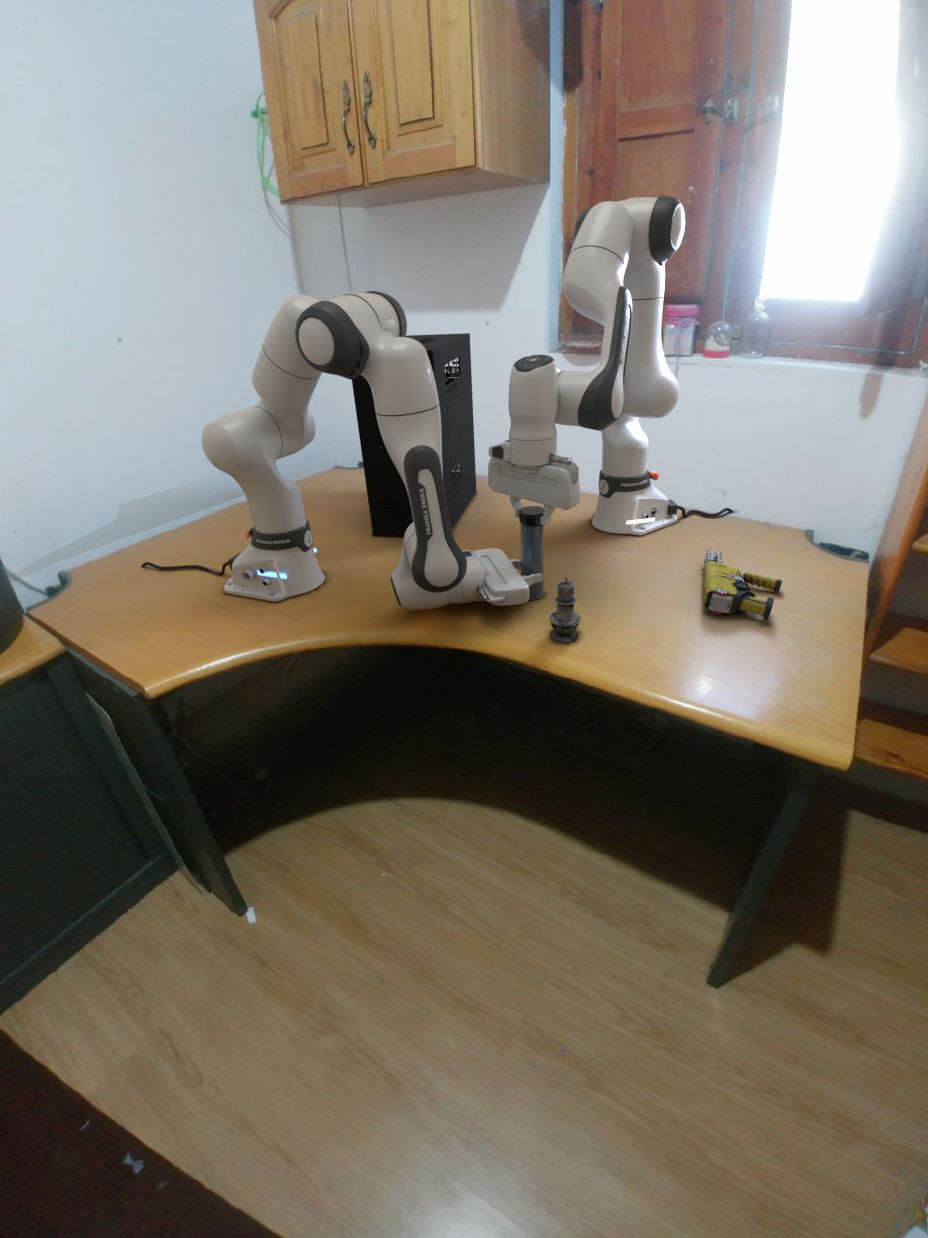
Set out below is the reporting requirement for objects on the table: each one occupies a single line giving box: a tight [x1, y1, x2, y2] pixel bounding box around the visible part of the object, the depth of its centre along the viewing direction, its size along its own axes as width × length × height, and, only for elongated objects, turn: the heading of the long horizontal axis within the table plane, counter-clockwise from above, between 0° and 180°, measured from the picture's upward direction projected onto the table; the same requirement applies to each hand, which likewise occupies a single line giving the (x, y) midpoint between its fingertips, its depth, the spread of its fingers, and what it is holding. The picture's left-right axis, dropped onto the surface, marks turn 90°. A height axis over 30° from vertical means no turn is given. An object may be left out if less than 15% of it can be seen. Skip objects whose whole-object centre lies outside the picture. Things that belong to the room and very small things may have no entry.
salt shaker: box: [548, 576, 582, 643], centre depth 110 cm, size 6×6×12 cm
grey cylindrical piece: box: [520, 523, 545, 601], centre depth 123 cm, size 5×5×18 cm
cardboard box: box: [351, 332, 477, 538], centre depth 163 cm, size 38×20×45 cm, turn 167°
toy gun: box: [702, 548, 783, 622], centre depth 122 cm, size 5×24×15 cm
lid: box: [518, 505, 546, 526], centre depth 119 cm, size 5×5×2 cm
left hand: (536, 570), depth 125 cm, fingers closed on grey cylindrical piece, 5 cm apart
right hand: (532, 520), depth 119 cm, fingers closed on lid, 5 cm apart
